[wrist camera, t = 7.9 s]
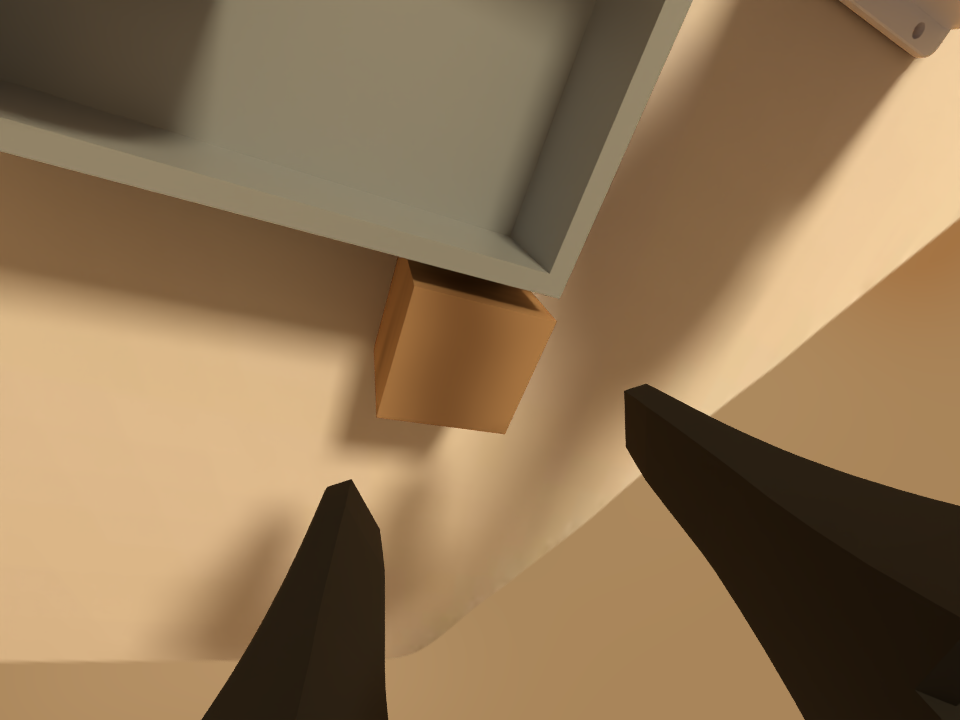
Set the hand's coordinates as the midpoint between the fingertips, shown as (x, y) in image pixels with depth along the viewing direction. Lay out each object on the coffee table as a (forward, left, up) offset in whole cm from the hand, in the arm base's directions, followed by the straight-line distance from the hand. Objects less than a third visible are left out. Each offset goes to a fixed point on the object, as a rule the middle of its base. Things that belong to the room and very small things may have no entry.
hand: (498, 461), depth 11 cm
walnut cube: (0, 0, -10) cm, 10 cm away
